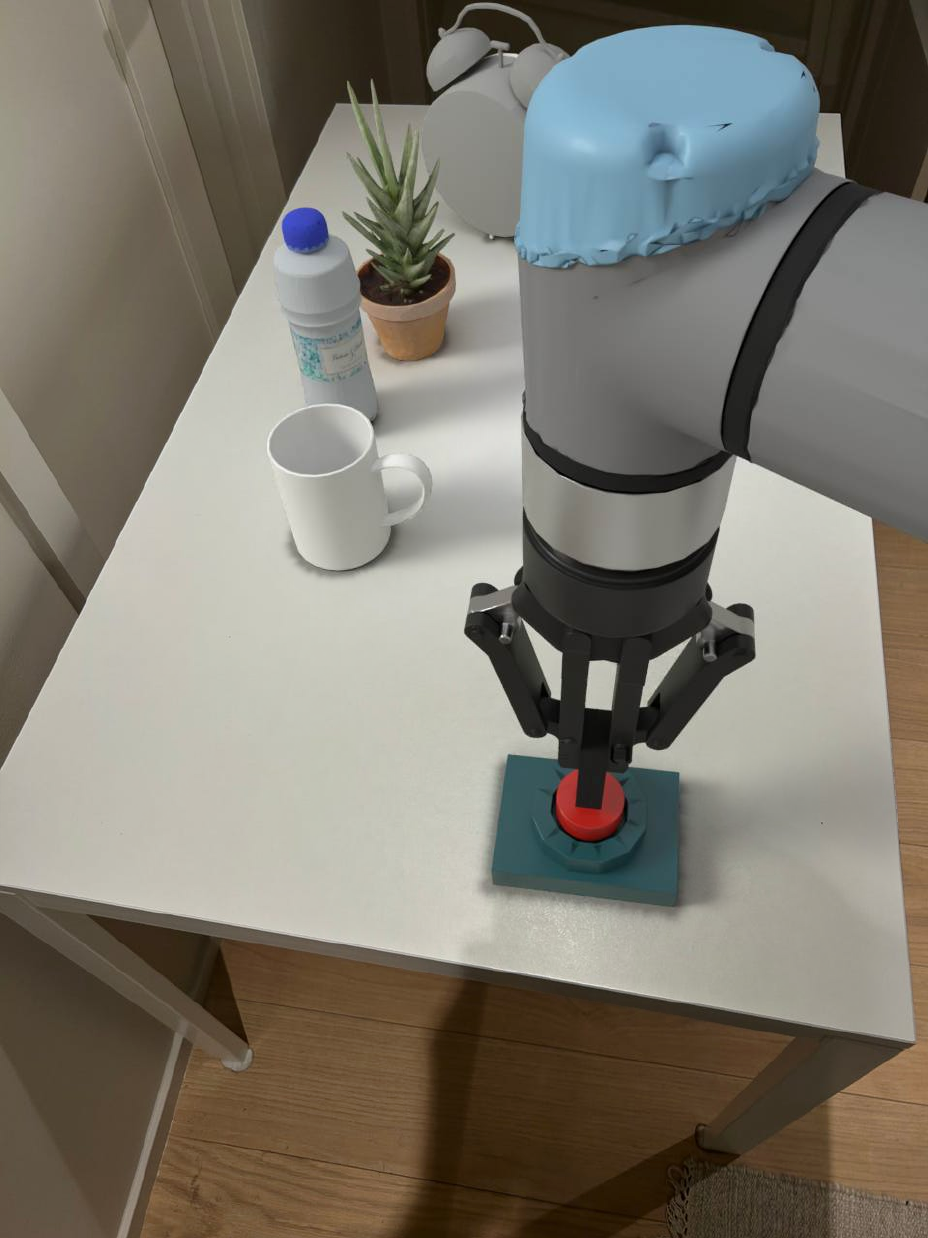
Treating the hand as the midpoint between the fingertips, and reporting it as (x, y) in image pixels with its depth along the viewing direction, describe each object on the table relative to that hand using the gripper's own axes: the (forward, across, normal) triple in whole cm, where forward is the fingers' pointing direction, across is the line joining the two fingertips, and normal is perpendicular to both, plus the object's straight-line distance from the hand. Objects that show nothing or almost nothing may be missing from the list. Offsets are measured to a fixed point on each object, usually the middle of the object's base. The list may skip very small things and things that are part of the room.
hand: (589, 787), depth 54 cm
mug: (+7, +19, -23) cm, 31 cm away
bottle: (+7, +24, -37) cm, 45 cm away
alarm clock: (+7, +14, -70) cm, 72 cm away
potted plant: (+7, +20, -49) cm, 54 cm away
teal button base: (+7, 0, 0) cm, 7 cm away
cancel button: (+3, 0, 0) cm, 3 cm away
